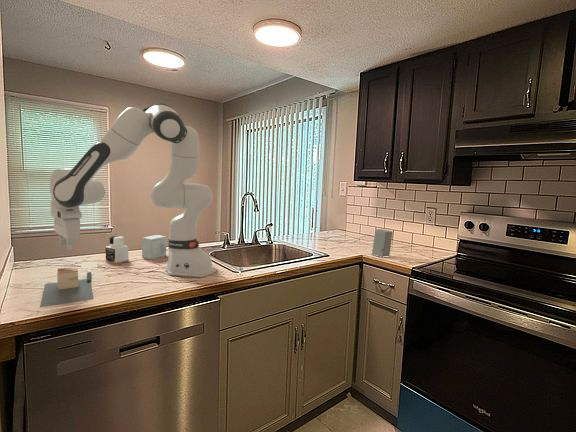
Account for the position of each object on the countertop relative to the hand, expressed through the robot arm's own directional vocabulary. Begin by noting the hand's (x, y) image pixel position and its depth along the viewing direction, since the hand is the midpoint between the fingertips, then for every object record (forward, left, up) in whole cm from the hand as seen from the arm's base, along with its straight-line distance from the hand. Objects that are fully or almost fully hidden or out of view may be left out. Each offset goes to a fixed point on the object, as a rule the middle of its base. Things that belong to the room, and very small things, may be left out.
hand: (66, 246), depth 120 cm
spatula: (-1, -9, -13) cm, 16 cm away
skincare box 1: (-6, -43, -13) cm, 45 cm away
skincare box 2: (-120, -99, -13) cm, 156 cm away
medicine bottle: (+4, -29, -13) cm, 32 cm away
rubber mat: (-13, +10, -13) cm, 21 cm away
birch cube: (-8, +6, -12) cm, 16 cm away
